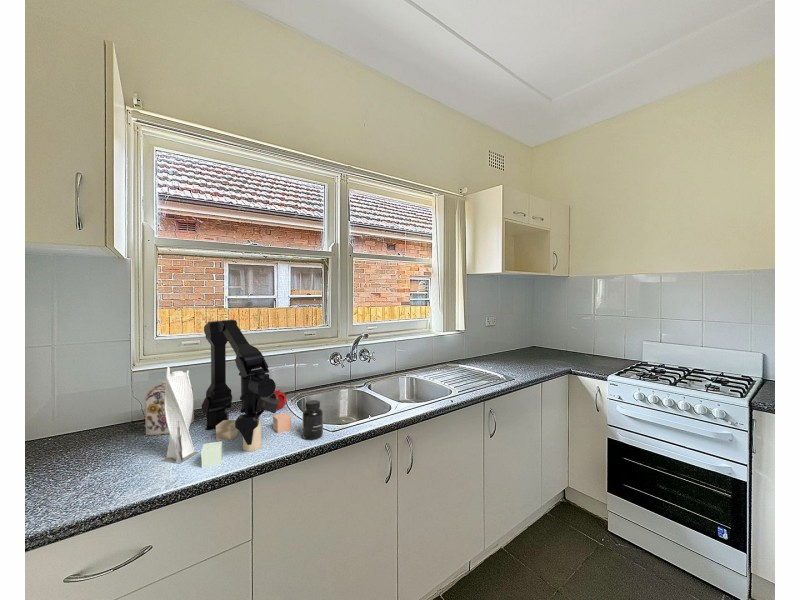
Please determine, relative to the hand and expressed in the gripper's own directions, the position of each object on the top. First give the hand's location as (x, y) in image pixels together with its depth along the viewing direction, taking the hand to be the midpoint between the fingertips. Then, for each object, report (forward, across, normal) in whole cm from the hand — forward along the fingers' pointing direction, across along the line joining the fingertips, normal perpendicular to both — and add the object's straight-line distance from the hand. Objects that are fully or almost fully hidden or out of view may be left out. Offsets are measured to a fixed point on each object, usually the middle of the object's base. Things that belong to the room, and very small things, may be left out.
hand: (252, 438), depth 113 cm
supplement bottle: (+3, +4, -19) cm, 20 cm away
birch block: (+3, +11, +10) cm, 15 cm away
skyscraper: (+4, 0, +21) cm, 21 cm away
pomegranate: (+3, +37, -3) cm, 37 cm away
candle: (+3, 0, 0) cm, 3 cm away
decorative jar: (+3, +24, +32) cm, 40 cm away
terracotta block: (+3, +13, -8) cm, 16 cm away
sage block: (+3, -7, +10) cm, 13 cm away
